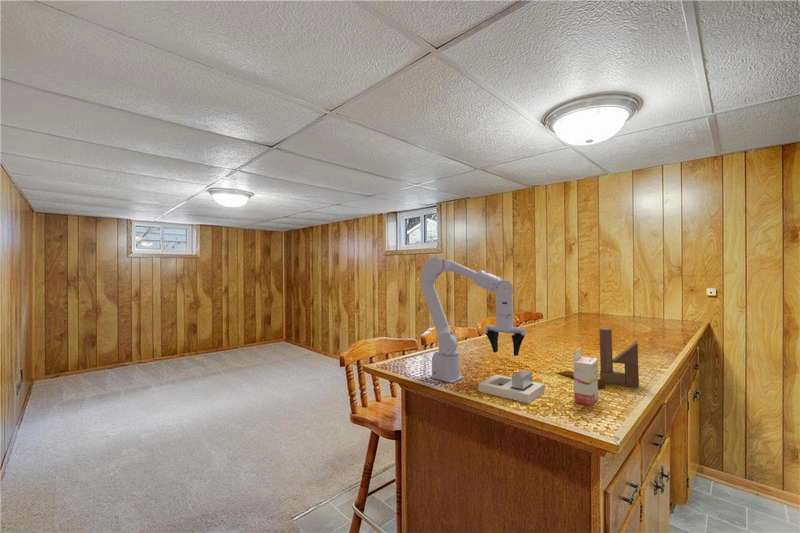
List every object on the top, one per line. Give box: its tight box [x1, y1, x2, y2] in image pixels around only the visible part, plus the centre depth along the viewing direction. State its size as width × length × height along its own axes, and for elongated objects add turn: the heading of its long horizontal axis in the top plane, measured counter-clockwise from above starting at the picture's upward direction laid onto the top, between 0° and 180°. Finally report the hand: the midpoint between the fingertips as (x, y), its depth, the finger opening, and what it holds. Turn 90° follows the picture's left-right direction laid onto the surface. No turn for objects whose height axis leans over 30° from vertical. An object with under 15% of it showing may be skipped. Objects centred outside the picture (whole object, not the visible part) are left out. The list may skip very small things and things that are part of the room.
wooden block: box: [598, 327, 640, 388], centre depth 116 cm, size 4×11×18 cm, turn 61°
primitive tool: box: [556, 370, 607, 390], centre depth 121 cm, size 19×6×4 cm, turn 17°
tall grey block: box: [511, 369, 533, 391], centre depth 109 cm, size 4×7×6 cm, turn 138°
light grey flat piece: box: [477, 373, 546, 404], centre depth 111 cm, size 16×12×2 cm
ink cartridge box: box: [572, 346, 599, 407], centre depth 103 cm, size 9×5×15 cm, turn 141°
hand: (505, 353), depth 122 cm, fingers open, 7 cm apart
